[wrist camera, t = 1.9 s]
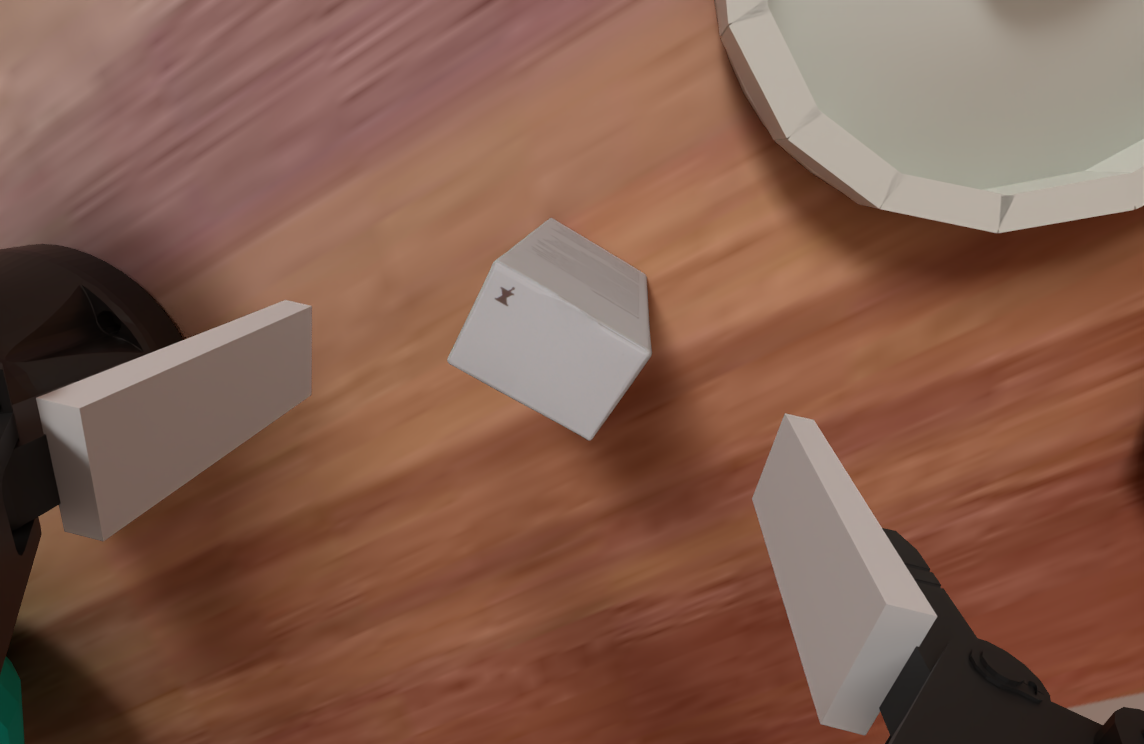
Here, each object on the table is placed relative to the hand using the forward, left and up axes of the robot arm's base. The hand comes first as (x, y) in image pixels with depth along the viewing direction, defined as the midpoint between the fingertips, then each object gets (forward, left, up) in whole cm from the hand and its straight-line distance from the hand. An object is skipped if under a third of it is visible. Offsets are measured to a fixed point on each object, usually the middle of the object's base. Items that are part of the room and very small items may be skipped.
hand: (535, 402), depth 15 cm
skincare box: (0, 0, -16) cm, 16 cm away
